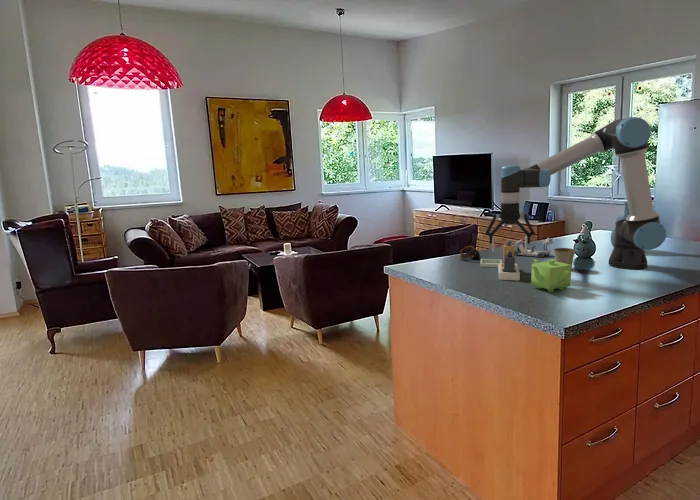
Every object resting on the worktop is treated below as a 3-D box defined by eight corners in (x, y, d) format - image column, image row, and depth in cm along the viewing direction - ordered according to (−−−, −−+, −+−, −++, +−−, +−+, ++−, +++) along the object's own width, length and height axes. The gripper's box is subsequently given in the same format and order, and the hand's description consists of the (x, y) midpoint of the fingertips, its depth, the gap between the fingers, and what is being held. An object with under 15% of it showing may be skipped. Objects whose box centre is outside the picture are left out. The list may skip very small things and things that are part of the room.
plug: (512, 271, 210) (513, 240, 208) (513, 273, 205) (514, 242, 203) (502, 271, 211) (503, 240, 209) (503, 273, 207) (504, 242, 204)
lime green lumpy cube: (529, 292, 177) (530, 263, 175) (528, 283, 191) (529, 255, 188) (573, 294, 172) (575, 264, 170) (569, 285, 186) (571, 257, 184)
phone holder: (555, 236, 240) (549, 240, 231) (554, 255, 242) (548, 259, 232) (519, 234, 250) (512, 237, 241) (518, 252, 252) (511, 256, 243)
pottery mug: (484, 263, 230) (477, 249, 227) (466, 271, 233) (459, 258, 229) (478, 252, 241) (472, 239, 238) (461, 260, 243) (455, 247, 240)
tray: (501, 263, 226) (501, 259, 225) (502, 268, 216) (502, 264, 215) (480, 262, 228) (480, 258, 228) (480, 267, 218) (480, 263, 218)
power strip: (516, 270, 212) (517, 246, 209) (519, 280, 195) (520, 254, 192) (498, 269, 214) (498, 245, 212) (499, 279, 197) (499, 253, 195)
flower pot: (548, 269, 212) (549, 250, 210) (556, 265, 218) (557, 247, 217) (570, 272, 205) (571, 252, 204) (578, 268, 212) (579, 249, 210)
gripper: (540, 200, 203) (539, 249, 207) (479, 202, 210) (479, 249, 213) (542, 202, 196) (541, 252, 200) (479, 203, 202) (479, 252, 206)
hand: (509, 251), depth 207 cm, fingers open, 13 cm apart
